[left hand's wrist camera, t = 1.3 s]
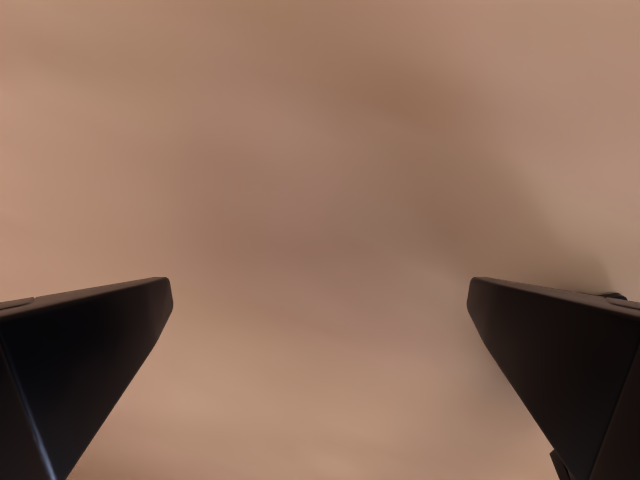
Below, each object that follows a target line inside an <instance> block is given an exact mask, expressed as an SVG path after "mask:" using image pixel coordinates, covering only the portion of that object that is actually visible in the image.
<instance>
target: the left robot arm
mask: <svg viewBox="0 0 640 480" xmlns="http://www.w3.org/2000/svg"><path fill="white" fill-rule="evenodd" d="M172 309H173V298H172V292H171V286H170V281H169V279H168V278H166V277H152V278H146V279H140V280H135V281H129V282H123V283H117V284H111V285H105V286H99V287H93V288H87V289H81V290H75V291H69V292H64V293H58V294H52V295H46V296H40V297H36V298H34V297H31V298H25V299H19V300H13V301H7V302H1V303H0V480H66V478H67V477H68V475H69V474H70V472H71V471H72V469H73V468H74V466H75V465H76V463H77V462H78V460H79V459H80V457H81V456H82V454H83V453H84V451H85V450H86V448H87V447H88V445H89V444H90V442H91V441H92V439H93V438H94V436H95V435H96V433H97V432H98V430H99V429H100V427H101V426H102V424H103V423H104V421H105V420H106V418H107V417H108V415H109V414H110V412H111V411H112V409H113V408H114V406H115V405H116V403H117V402H118V400H119V399H120V397H121V396H122V394H123V393H124V391H125V390H126V388H127V387H128V385H129V384H130V382H131V381H132V379H133V378H134V376H135V375H136V373H137V372H138V370H139V369H140V367H141V366H142V364H143V363H144V361H145V360H146V358H147V357H148V355H149V354H150V352H151V351H152V349H153V347H154V346H155V344H156V342H157V340H158V339H159V337H160V335H161V332H162V330H163V328H164V326H165V324H166V322H167V320H168V318H169V316H170V314H171V312H172ZM467 309H468V312H469V314H470V316H471V318H472V320H473V322H474V324H475V326H476V328H477V330H478V332H479V335H480V337H481V339H482V340H483V342H484V344H485V346H486V347H487V349H488V351H489V352H490V354H491V355H492V357H493V358H494V360H495V361H496V363H497V364H498V366H499V367H500V369H501V370H502V372H503V373H504V375H505V376H506V378H507V379H508V381H509V382H510V384H511V385H512V387H513V388H514V390H515V391H516V393H517V394H518V396H519V397H520V399H521V400H522V402H523V403H524V405H525V406H526V408H527V409H528V411H529V412H530V414H531V415H532V417H533V418H534V420H535V421H536V423H537V424H538V426H539V427H540V429H541V430H542V432H543V433H544V435H545V436H546V438H547V439H548V441H549V442H550V444H551V445H552V447H553V448H554V450H553V451H552V452H551V453H550V456H551V459H552V461H553V464H554V466H555V469H556V472H557V474H558V477H559V479H560V480H640V303H639V302H633V301H627V298H626V297H624V296H623V295H621V294H619V293H612V294H605V295H599V296H596V295H589V294H583V293H577V292H571V291H565V290H559V289H553V288H547V287H541V286H535V285H529V284H523V283H517V282H511V281H506V280H500V279H494V278H488V277H474V278H472V279H471V281H470V286H469V292H468V298H467Z"/></svg>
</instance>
